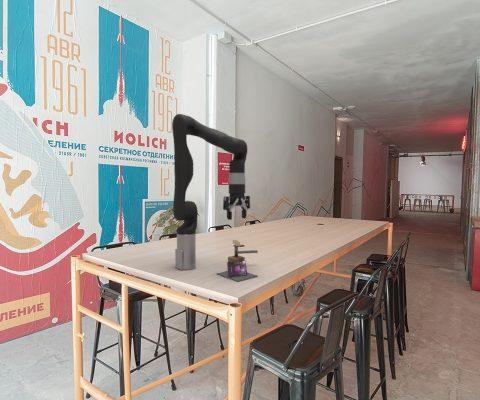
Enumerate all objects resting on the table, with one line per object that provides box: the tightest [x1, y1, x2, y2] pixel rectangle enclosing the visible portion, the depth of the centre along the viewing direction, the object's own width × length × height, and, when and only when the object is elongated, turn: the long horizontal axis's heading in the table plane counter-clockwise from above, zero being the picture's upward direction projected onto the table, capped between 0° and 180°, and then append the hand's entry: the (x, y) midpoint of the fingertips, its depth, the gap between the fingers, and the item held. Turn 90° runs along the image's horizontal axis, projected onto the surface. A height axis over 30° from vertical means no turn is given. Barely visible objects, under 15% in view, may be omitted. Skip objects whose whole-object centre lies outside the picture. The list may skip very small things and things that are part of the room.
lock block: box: [227, 255, 246, 268], centre depth 163 cm, size 6×6×5 cm
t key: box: [232, 239, 259, 257], centre depth 164 cm, size 8×12×8 cm, turn 103°
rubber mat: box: [216, 270, 258, 283], centre depth 147 cm, size 12×15×1 cm
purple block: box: [226, 260, 248, 278], centre depth 147 cm, size 7×5×9 cm
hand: (236, 218), depth 146 cm, fingers open, 8 cm apart
